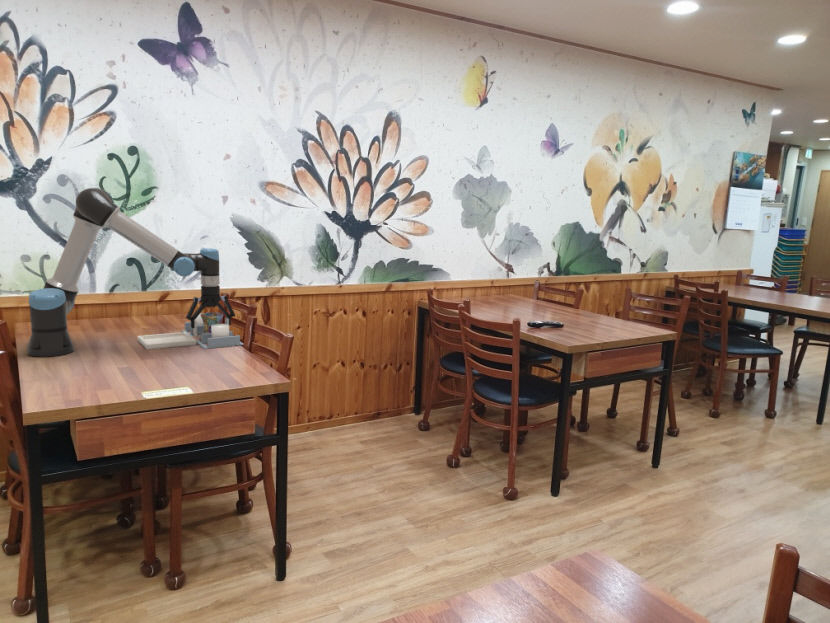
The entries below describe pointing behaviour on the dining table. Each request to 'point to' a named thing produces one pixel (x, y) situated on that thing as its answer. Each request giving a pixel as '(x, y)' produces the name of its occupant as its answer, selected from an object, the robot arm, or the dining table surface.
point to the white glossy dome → (199, 320)
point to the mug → (211, 320)
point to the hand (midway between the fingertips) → (211, 334)
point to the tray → (166, 340)
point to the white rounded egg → (219, 330)
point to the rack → (211, 341)
